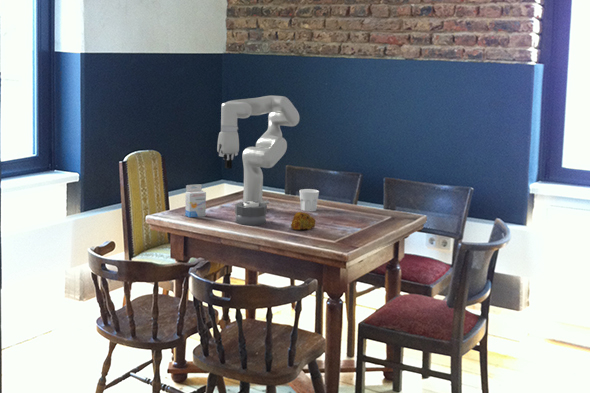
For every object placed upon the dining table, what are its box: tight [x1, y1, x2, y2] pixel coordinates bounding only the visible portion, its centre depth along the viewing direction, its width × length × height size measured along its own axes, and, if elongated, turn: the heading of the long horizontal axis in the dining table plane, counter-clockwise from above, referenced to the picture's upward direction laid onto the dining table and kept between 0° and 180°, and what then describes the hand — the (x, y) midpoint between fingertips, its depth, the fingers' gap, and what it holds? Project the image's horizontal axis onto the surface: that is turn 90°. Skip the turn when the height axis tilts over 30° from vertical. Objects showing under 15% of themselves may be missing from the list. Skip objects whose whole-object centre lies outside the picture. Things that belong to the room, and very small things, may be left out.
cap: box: [244, 200, 259, 207], centre depth 303 cm, size 7×7×6 cm
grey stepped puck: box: [234, 201, 268, 226], centre depth 304 cm, size 14×14×8 cm
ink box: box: [184, 183, 207, 218], centre depth 311 cm, size 8×5×15 cm, turn 123°
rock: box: [290, 211, 316, 231], centre depth 295 cm, size 11×8×10 cm
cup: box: [299, 188, 320, 212], centre depth 336 cm, size 10×10×10 cm
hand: (228, 168), depth 311 cm, fingers closed
